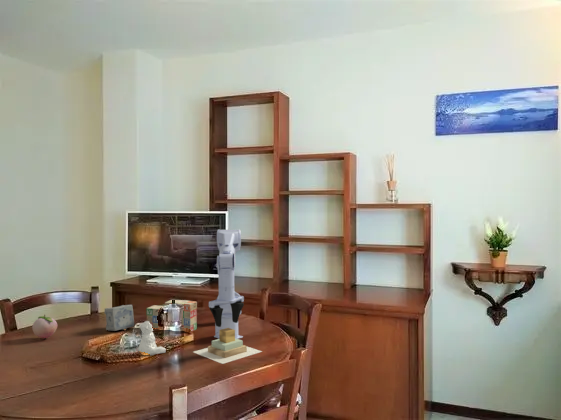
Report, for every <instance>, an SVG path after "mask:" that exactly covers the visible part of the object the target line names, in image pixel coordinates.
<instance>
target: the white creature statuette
mask: <svg viewBox="0 0 561 420" xmlns="http://www.w3.org/2000/svg"><path fill="white" fill-rule="evenodd" d="M139 328H140V330H141V332H142V333H143V334H142V336H141V338H140V339H141V340H140V343H139V345H138V347H137V352H138V351H141V352H145V353H148V354H150V356H155V355H158V354H164V353H166V348H165V347H163V346H157V344H156V337H155V334H154V332H153V331H154V330H153V328H152V325H151V324H150V323H149V321H147V320H146V321H144V322H142V323H139Z"/></svg>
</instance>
